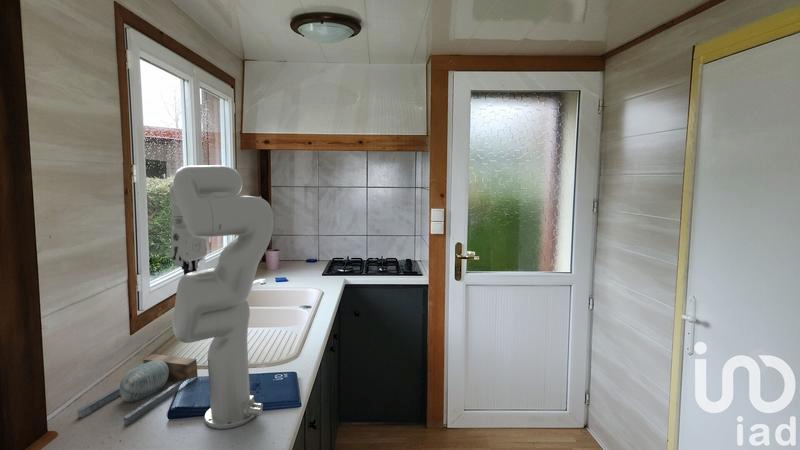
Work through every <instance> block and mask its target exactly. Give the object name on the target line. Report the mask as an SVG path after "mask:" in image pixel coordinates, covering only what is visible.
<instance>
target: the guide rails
mask: <svg viewBox="0 0 800 450" xmlns="http://www.w3.org/2000/svg"><path fill="white" fill-rule="evenodd" d="M186 380H188V378H187V377H184V378H183V379H181V380H180V381H178V382H177V383H176V382H174V384H172V385H171V386H169V387H168V388H166V389H165V390H163V391H162V392H160V393H158V394H157V395H156V396H153V397H152V398H151V399H149V400H148V401H146V402H144V403H143V404H142V405H140V406H137V408H136V409H134V410H132V411H131V412H129V413H128V414H126V415H125V416H123V425H124V426H129V425H131V424H132V423H134V422H135V421H137V420H138V419H140V418H141V417H143V416H144V415H146V414H148V412H150V411H152V410H153V409H155V408H156V407H157V406H159V405H161V404H162V403H163V402H164V401H166V400H167V399H168V400H169V398H170V397H172V396H173V395H175V394H176V393H177V392H176V391H177V390H178V388H179V386H180V385H181V384H182V383H183V382H184V381H186ZM118 397H121V395H120V385H119V386H117V387H116V388H114V389H112V390H111V391H109V392H107V393H105V394H103V395H101V396H100V397H98V398H97V399H95V400H93V401H91V402H89V403H87V404H86V405H84V406H82V407H80V408H79V409H77V410H76V411H77V417H79V418H80V419H83V418H85V417H86V416H88V415H90V414H91V413H93V412H95V411H97V410H98V409H100V408H102V407H103V406H105V405H106V404H108V403H111V401H113V400H115V399H117V398H118Z"/></svg>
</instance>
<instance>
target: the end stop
mask: <svg viewBox="0 0 800 450" xmlns="http://www.w3.org/2000/svg"><path fill="white" fill-rule="evenodd" d="M155 360H160V361H163V362H164V363H166V364H167V366H168V369H169V376H168V380H167V382H168V383H169V382H171V383H177V382H178V381H180V380H181V379H183V378H184V377H187V378H188V379H191V378H194V377H198V365H197V364H198V363H197V361H198V360H197V358H192V357H190V358H189V357H182V356H172V355H162V354H156V353H153V354H150V355H148V356H147V357H146V358H145V357H144V358H143V361H142V364H144V363H147V362H150V361H155ZM198 378H199V377H198Z"/></svg>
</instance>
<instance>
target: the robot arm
mask: <svg viewBox="0 0 800 450" xmlns="http://www.w3.org/2000/svg"><path fill="white" fill-rule="evenodd" d="M242 189H243V179H242V177H241V175H240V174H239V172H238V171H237V170H235V168H232V167H230V166H226V165H186V166H182V167H180V168H179V169H177V170H176V172H175V174H174V176H173V180H172V181H170V183H169V199H170V205H171V207H170V208H171V218H172V221H171V223H172V229H171V238H170V239H171V241H170V242H171V244H170V245H171V246H170V247H171V257H172V260H173V261H174V267H180V268H181V269H182V271H183V276H181V278H180V279H179V280H178V283H177V288H176V293H175V300H174V301H175V302H174V307H173V313H172V330H173V333H174V336H175V338H176V339H177V340H178V341H179V342H181V343H184V344H186V343H187V344H188V343H190V344H191V343H196V342H201V341H204V340H208V339H212V338H213V339H212V340H211V343H210V344H209V347H208V350H207V370H208V371H207V373H208V383H209V385H208V386H209V387H208V388H209V401H210V402H209V403H210V408H209V409H208V410H206V412H205V414H204V422H205V424H206V425H207V426H208V427H210V428H212V429H220V430H221V429H222V430H223V429H233V428H236V427H239V426H242V425H245V424H247V423H248V422H250V421H252V420H253V419H254V418H255V417H256V416H257V417H261V416H262V415H263V409H264V403H262V402H255V396H254V395H251V392H250V390H251V388H250V373H249V371H250V370H249V353H248V352H249V351H248V349H249V347H248V331H249V330H248V329H249V322H250V315H251V314H250V313H251V312H250V311H251V309H250V305H249V302H248V301H247V299H248V298H249V296H250V294H251V292H252V288H253V283H254V280H255V277H256V274H257V270H258V266H259V264H260V261H261V260H262V258H263V256H264V255H265V253H266V251H267V249H268V246H269V244H270V242H271V239H272V235H273V232H274V231H273V230H274V214H273V209H272V207H271V205H270V203H269V202H268V201H267V200H265V199H264V198H262V197H259V196H252V195H239V194H240V192H241V191H242ZM235 235H236V237H235V238H233V239H232V240H231V241H230V242H229V243H227V244H226V246H225V247H224V248H223V249H222V251H221V252H220V255H219V257H218V260H217V261H218V262H217V266H215V267H213V268H212V267H211V268H208V269H200V270H197V269H198V266H199V263H200V262H201V261H202V260H203V258H204V257H206V256H207V254H208V253H207V252H208V249H207V248H208V247H207V241H206V239H207V238H209V239H210V238H217V237H226V236H235Z"/></svg>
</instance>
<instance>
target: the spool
mask: <svg viewBox="0 0 800 450" xmlns="http://www.w3.org/2000/svg"><path fill="white" fill-rule="evenodd" d="M168 376H169V369H168V366H167V364H166V363H164V362H163V361H160V360H155V361H150V362H147V363H142V364H140V365H137V366H135V367H134V368H132V369H130V370H129V371H127V372H126V374H124V376H123V377H122V379H121V381H120V384H119V386H120V397H121V398H122V400H123V401H125V402H129V403H130V402H131V403H134V402H137V401H141V400H143V399H145V398H147V397H149V396H151V395H153V394H155V393H156V392H157V391H159V390H160V389H162V387H164V386H165V385H166V383H167V382H168V381H167V380H168Z"/></svg>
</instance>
